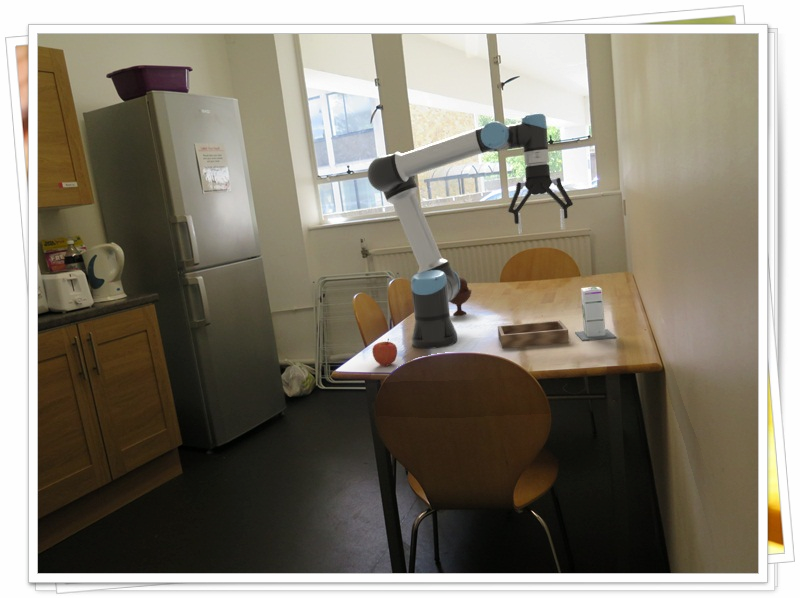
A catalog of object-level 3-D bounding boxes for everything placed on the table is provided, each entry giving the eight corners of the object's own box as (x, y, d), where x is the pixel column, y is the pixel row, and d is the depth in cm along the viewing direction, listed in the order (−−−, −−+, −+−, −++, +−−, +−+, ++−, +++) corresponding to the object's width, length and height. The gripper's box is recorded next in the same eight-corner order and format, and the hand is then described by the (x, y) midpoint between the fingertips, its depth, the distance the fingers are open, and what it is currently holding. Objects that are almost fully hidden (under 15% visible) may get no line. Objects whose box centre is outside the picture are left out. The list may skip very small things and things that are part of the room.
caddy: (502, 348, 174) (501, 335, 173) (498, 337, 187) (497, 326, 186) (569, 342, 172) (568, 329, 171) (560, 332, 184) (560, 320, 184)
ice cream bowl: (465, 310, 237) (462, 274, 235) (477, 314, 227) (474, 277, 224) (442, 314, 234) (438, 278, 232) (453, 318, 224) (449, 281, 221)
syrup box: (606, 335, 173) (603, 288, 170) (585, 337, 174) (583, 290, 171) (602, 331, 178) (600, 285, 176) (582, 332, 179) (580, 287, 177)
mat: (582, 340, 172) (582, 339, 172) (575, 333, 182) (575, 331, 181) (616, 338, 171) (616, 336, 171) (607, 330, 181) (607, 329, 180)
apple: (376, 362, 174) (372, 337, 173) (399, 360, 173) (396, 335, 172) (372, 369, 167) (369, 343, 166) (397, 367, 166) (394, 341, 165)
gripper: (498, 169, 179) (503, 236, 182) (579, 159, 176) (583, 227, 180) (496, 170, 186) (501, 234, 190) (574, 160, 184) (578, 226, 187)
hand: (541, 231), depth 185 cm, fingers open, 13 cm apart
